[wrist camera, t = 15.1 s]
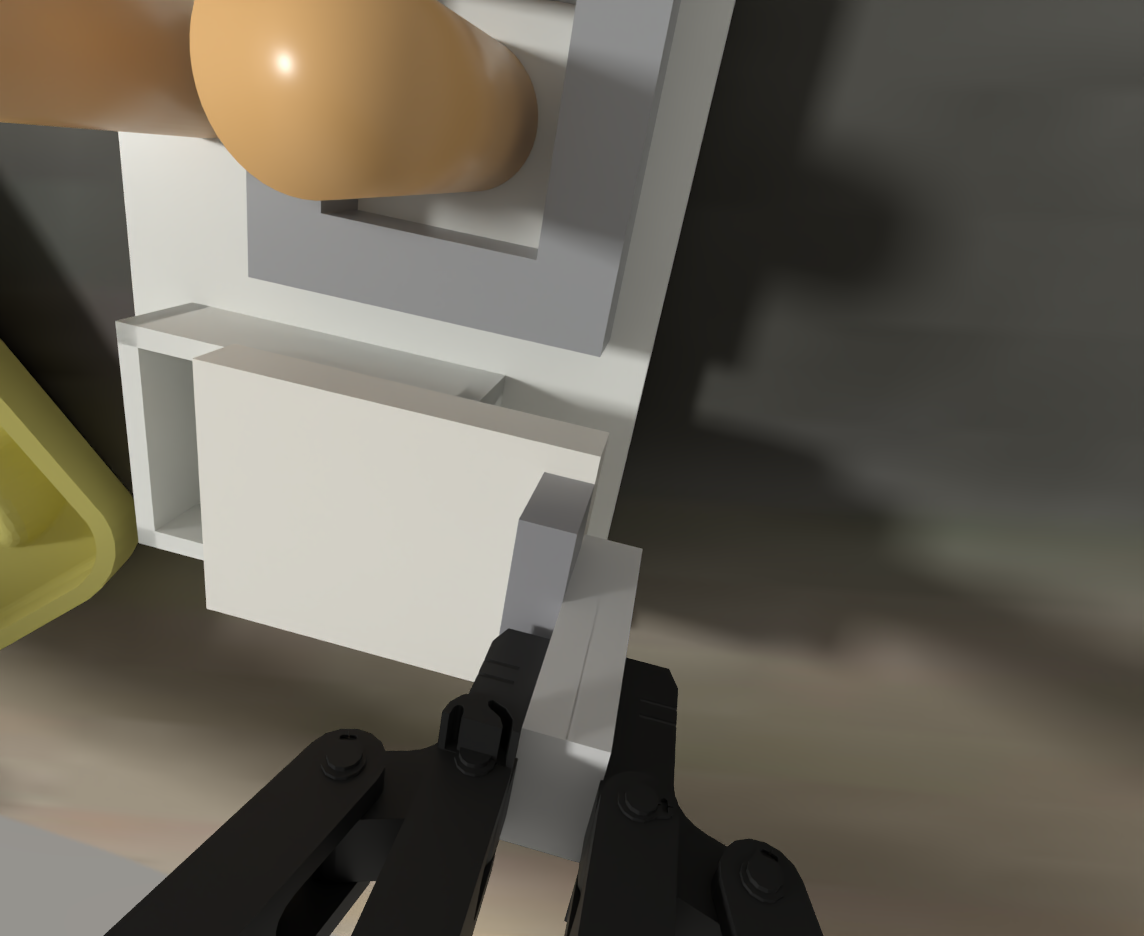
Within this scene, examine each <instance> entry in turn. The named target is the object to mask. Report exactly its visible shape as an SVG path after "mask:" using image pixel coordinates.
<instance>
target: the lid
mask: <svg viewBox="0 0 1144 936" xmlns="http://www.w3.org/2000/svg"><path fill="white" fill-rule="evenodd" d="M192 365H193V382H194V399H195V417H196V434H197V451H198V469H199V486H200V503H201V520H202V538H203V555H204V572H205V590H206V607H207V609H210V610H214V611H217V612H221V613H225V614H228V615H232V616H235V617H239V618H243V619H246V620H250V621H254V622H257V623H261V624H265V625H268V626H272V627H275V628H279V629H283V630H286V631H290V632H294V633H297V634H301V635H305V636H308V637H312V638H315V639H319V640H323V641H326V642H330V643H334V644H337V645H341V646H345V647H348V648H352V649H356V650H359V651H363V652H366V653H370V654H374V655H377V656H381V657H385V658H388V659H392V660H396V661H399V662H403V663H406V664H410V665H414V666H417V667H421V668H425V669H428V670H432V671H436V672H439V673H443V674H446V675H450V676H454V677H457V678H461V679H465V680H468V681H472V682H474V681H475V679H476V677H477V675H478V673H479V670H480V668H481V666H482V663H483V661H484V660H485V657H486V654H487V652H488V650H489V648H490V646H491V643H492V641H493V640H494V639H495V638H497V637H498V636H499V635H501V634H502V633H503V632H504V631H506V630H507V629H508V628H510V629H514V630H517V631H521V632H525V633H529V634H533V635H536V636H540V637H544V638H548V639H551V636H552V633H553V630H554V627H555V624H556V621H557V618H558V615H559V612H560V609H561V606H562V603H563V600H564V597H565V594H566V591H567V588H568V585H569V582H570V578H571V575H572V572H573V569H574V566H575V563H576V560H577V557H578V554H579V551H580V548H581V545H582V542H583V539H584V536H585V534H586V535H587V532H588V528H589V523H590V519H591V514H592V510H593V505H594V501H595V496H596V492H597V487H598V483H599V478H600V474H601V469H602V465H603V460H604V456H605V451H606V447H607V442H608V438H609V432H605V431H601V430H597V429H592V428H588V427H584V426H580V425H575V424H571V423H567V422H563V421H559V420H554V419H550V418H546V417H542V416H538V415H533V414H529V413H525V412H521V411H517V410H512V409H508V408H504V407H500V406H495V405H491V404H487V403H483V402H479V401H474V400H470V399H466V398H462V397H458V396H453V395H449V394H445V393H441V392H436V391H432V390H428V389H424V388H420V387H415V386H411V385H407V384H403V383H399V382H394V381H390V380H386V379H382V378H378V377H373V376H369V375H365V374H361V373H356V372H352V371H348V370H344V369H340V368H335V367H331V366H327V365H323V364H319V363H314V362H310V361H306V360H302V359H298V358H293V357H289V356H285V355H281V354H276V353H272V352H268V351H264V350H260V349H255V348H251V347H247V346H243V345H239V344H232V345H229V346H226V347H223V348H220V349H217V350H215V351H212V352H209V353H206V354H203V355H200V356H198V357H195V358H192Z"/></svg>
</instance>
